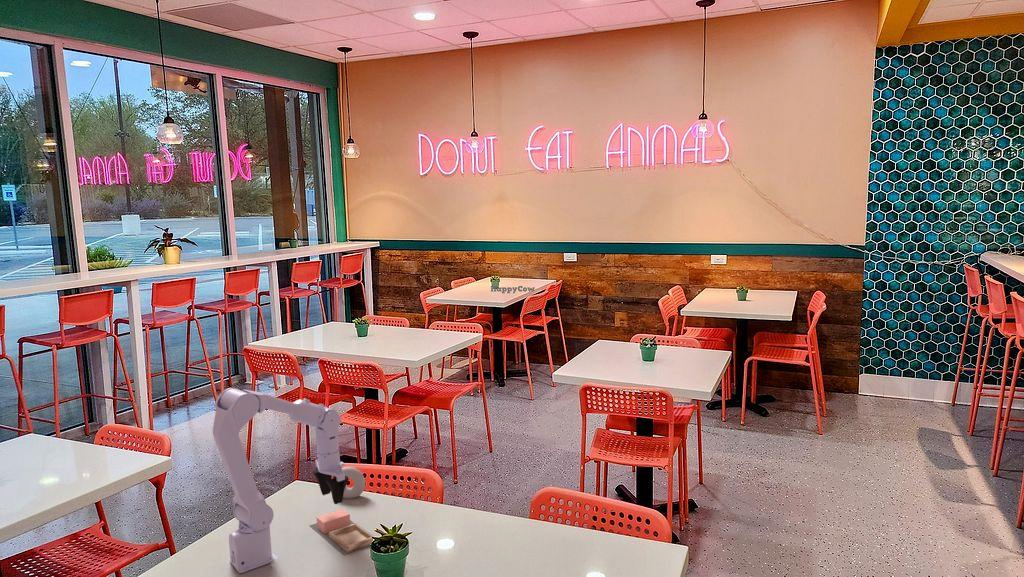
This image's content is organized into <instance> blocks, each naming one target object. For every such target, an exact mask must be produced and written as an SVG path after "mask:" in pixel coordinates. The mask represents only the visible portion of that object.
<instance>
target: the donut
mask: <svg viewBox="0 0 1024 577" xmlns="http://www.w3.org/2000/svg"><path fill="white" fill-rule="evenodd" d="M342 471H343V472H344V473H345V476H347V477H348V478H349V479H351V480H352V481H353V486H352V487H348V486H347V485H346V486H345V489H344V494H343V499H348V500H349V499H350V500H351V499H356V498H358V497H360V496H361V494H362V493H363V492H364V490H365V487H366V480H365V479H366V478H365V477H364V475H363V473H362V471H361V470H360V469H358V468H356V467H354V466H342Z"/></svg>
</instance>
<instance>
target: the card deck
mask: <svg viewBox="0 0 1024 577" xmlns="http://www.w3.org/2000/svg"><path fill="white" fill-rule="evenodd" d="M350 520H351V514H350V513H348V511H346V510H345V509H343V508H341V509H338V510H335V511H332V512H329V513H325V514H322V515H319V516H317V517H316V523H317V528H318V529H319V530H321V531H322V532H323V533H327V532H330V531H333V530H336V529H339V528H342V527H345V526H348V525H350Z"/></svg>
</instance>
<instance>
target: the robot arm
mask: <svg viewBox="0 0 1024 577" xmlns="http://www.w3.org/2000/svg"><path fill="white" fill-rule="evenodd" d="M214 408H215V414H214V418H213V420H214V421H213V426H212V436H213V438H214V441H215V444H216V446H217V449H218V452H219V455H220V458H221V460H222V463H223V465H224V468H225V471H226V474H227V476H228V477H227V478H228V480H229V483H230V486H231V488H232V491H233V493H234V496H233V497H232V502H233V508H232V509H233V511H232V512H233V516H234V518H235V519H236V520H238V529H236V530H235V531H233V532H231V533H229V536H228V545H229V557H230V560H229V563H230V564H231V565H232V566H233V568H235V570H236V571H237V572H238V573H239V574H243V573H246V572H249V571H252V570H254V569H256V568H261V567H263V566H265V565H268V564H270V563H272V562H273V561H276V560H278V559H279V557H277V555H276V554H275V553H274V552H272V538H271V524H272V522H273V519H274V514H275V513H274V510H273V508H272V507H271V506H270V505H268V504H267V501H266V499H265V497H264V495H262V494H261V492H260V491H259V488H258V487H257V484H256V480H255V479H254V475H253V472H252V470H251V467H250V464H249V461H248V458H247V455H246V453H245V450H244V447H243V443H242V442H241V438H240V435H239V433H240V431H241V430H242V429H243V428H244V427H245V426H246V425H247V424H248V423H249V422H250V421H251V420H252V419H253V418H254V417H255V416H256V415H257V413H259V414H261V413H263V412H264V411H266V410H269V411H273V412H277V413H281V414H286V415H288V416H289V419H290V420H291V421H293V422H295V423H299V424H303V425H307V426H310V427H315V439H316V441H315V442H316V450H317V451H316V453H317V454H316V455H317V459H315V467H316V468H317V469H314V470H312V474H313V476H314V477H315V479H316V481H317V483H318V487H319V489H320V493H321V495H322V496H326V495H329V494H331V499H332V502H333V504H334V505H338V504H340V503H341V504H342V503H343V500H344V498H343V494H344V489H345V486H347V483H348V482H349V479H350V478H348V477H347V476H345V473H344V472H343V471H342V468H343V467H345V462H343V461H341V458H340V456H341V455H340V444H339V427H340V425H341V422H342V417H341V416H340V414H339V412H338V411H337V410H335V409H332V408H330V407H326V406H325V404H323V403H318V404H316V403H313V402H311V400H310V399H307V398H305V397H304V398H302V399H296V400H295V401H293V402H291V401H288V400H285V399H282V398H278V397H276V396H272V395H269V394H267V393H264V392H260V391H255V390H251V389H250V390H249V389H242V390H240V389H239V388H236V387H229V388H226V389H224V390H223V391H221V393H220V394H219V396H218V398H217V399H216V401H215V403H214Z"/></svg>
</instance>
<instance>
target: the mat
mask: <svg viewBox="0 0 1024 577" xmlns="http://www.w3.org/2000/svg"><path fill="white" fill-rule="evenodd" d="M354 523H355V522H353V521H352V520H351V519H350V525H351V524H354ZM309 527H310V528H311V529H312V530H313V531H315V532H316V533H317V534H318V535H319V536H320V537H321V538H323V539H324V540H325V541H326V542H327V543H329V544H330V545H331V546H332V547H333V548H334V549H336V551H338V552H339V553H340V554H341V555H343V556H345V557H346V556H347V555H350V554H353V553H355V552H358V551H360V550H363V549H366V548H369V547H371V546H370V545H368V546H365V547H363V548H360V549H357V550H354V551H352V552H349V553H346V552H345V551H344V550H343V549H341V548H340V547H339V546H338V545H337V544H336V543H334V542H333V541H332V540H331V539H330V538H329V532H327V533H323V532H322V531H321V530H319V529H318V528H317V522H316V523H313V524H310V525H309ZM345 527H346V526H345ZM342 528H343V527H342ZM339 529H340V528H339ZM336 530H337V529H336ZM333 531H334V530H333ZM330 532H331V531H330Z"/></svg>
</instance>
